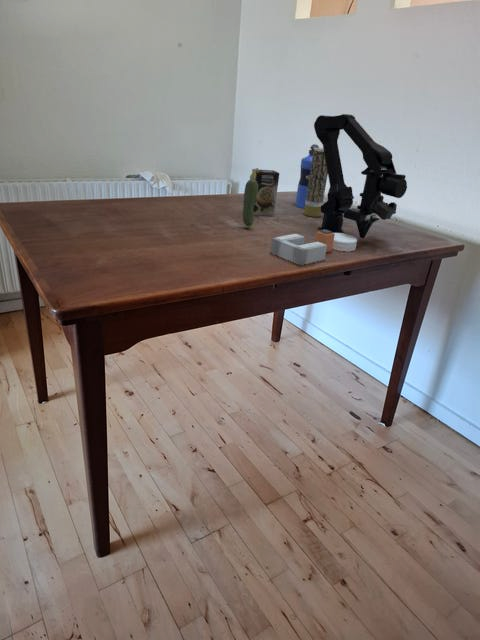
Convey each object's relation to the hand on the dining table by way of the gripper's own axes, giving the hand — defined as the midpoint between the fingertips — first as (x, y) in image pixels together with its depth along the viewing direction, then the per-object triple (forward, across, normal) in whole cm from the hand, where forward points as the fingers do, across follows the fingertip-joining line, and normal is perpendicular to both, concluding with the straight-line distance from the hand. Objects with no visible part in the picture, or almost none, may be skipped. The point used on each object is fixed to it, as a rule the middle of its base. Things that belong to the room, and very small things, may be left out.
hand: (362, 238), depth 153 cm
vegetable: (+1, -26, +29) cm, 39 cm away
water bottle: (+2, +22, +44) cm, 49 cm away
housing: (+1, -33, 0) cm, 33 cm away
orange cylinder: (+1, -21, 0) cm, 21 cm away
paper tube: (+1, +12, +32) cm, 34 cm away
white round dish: (+2, -12, 0) cm, 12 cm away
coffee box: (+2, -7, +42) cm, 43 cm away
